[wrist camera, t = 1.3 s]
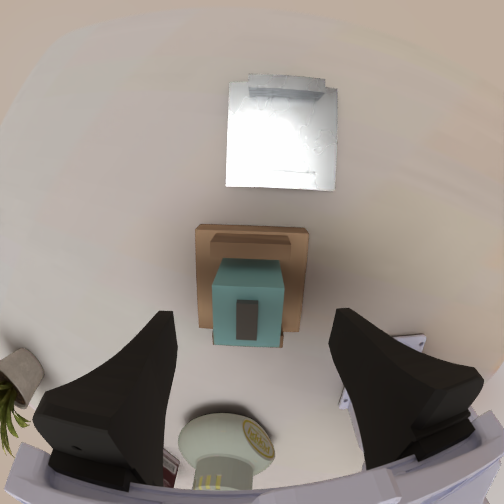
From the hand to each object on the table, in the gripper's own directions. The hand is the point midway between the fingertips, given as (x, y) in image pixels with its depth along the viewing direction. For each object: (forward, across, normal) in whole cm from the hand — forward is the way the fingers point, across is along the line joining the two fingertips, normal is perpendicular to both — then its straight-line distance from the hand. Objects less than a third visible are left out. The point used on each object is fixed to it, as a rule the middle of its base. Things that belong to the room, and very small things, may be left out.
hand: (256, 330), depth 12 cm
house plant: (+13, +28, +18) cm, 36 cm away
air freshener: (+9, +1, +23) cm, 24 cm away
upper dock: (+11, -1, +3) cm, 11 cm away
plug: (+9, 0, +2) cm, 9 cm away
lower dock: (+12, -3, -8) cm, 14 cm away
